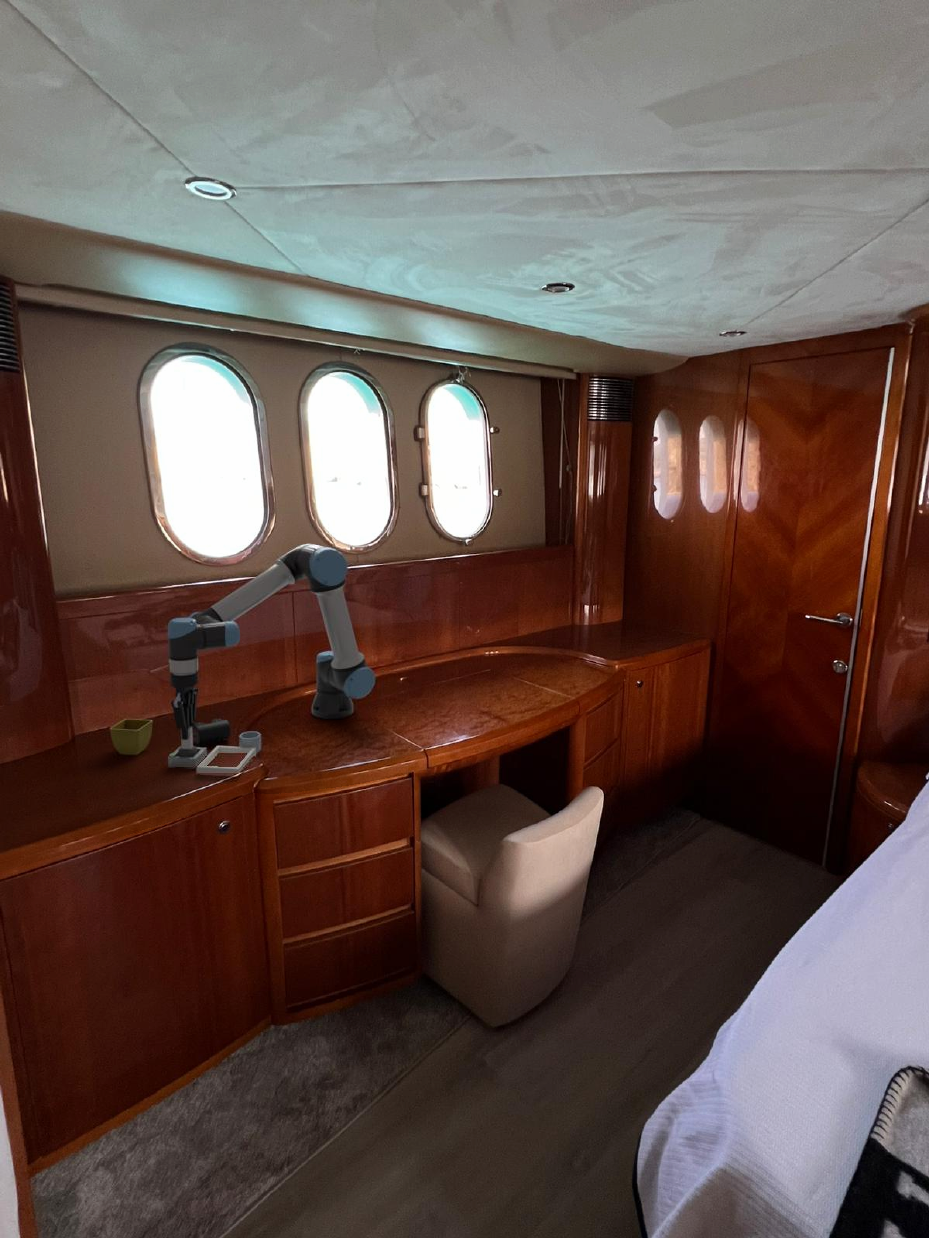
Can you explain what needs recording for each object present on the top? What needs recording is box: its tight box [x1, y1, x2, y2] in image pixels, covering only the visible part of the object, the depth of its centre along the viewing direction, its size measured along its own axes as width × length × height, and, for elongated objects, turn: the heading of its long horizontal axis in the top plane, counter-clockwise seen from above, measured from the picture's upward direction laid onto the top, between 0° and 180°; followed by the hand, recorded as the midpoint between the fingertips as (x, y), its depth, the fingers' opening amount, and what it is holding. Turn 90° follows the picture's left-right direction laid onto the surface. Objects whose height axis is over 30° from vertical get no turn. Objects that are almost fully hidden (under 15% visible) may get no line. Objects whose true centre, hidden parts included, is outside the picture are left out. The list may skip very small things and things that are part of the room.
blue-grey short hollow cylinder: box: [238, 730, 262, 754], centre depth 198 cm, size 6×6×5 cm
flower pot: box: [109, 718, 153, 756], centre depth 192 cm, size 9×9×9 cm
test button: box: [177, 745, 198, 757], centre depth 188 cm, size 5×5×3 cm
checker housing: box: [167, 745, 208, 768], centre depth 188 cm, size 8×8×4 cm
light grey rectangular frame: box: [196, 745, 257, 774], centre depth 188 cm, size 12×15×2 cm
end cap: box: [192, 718, 232, 747], centre depth 202 cm, size 10×7×7 cm
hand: (187, 747), depth 188 cm, fingers closed
